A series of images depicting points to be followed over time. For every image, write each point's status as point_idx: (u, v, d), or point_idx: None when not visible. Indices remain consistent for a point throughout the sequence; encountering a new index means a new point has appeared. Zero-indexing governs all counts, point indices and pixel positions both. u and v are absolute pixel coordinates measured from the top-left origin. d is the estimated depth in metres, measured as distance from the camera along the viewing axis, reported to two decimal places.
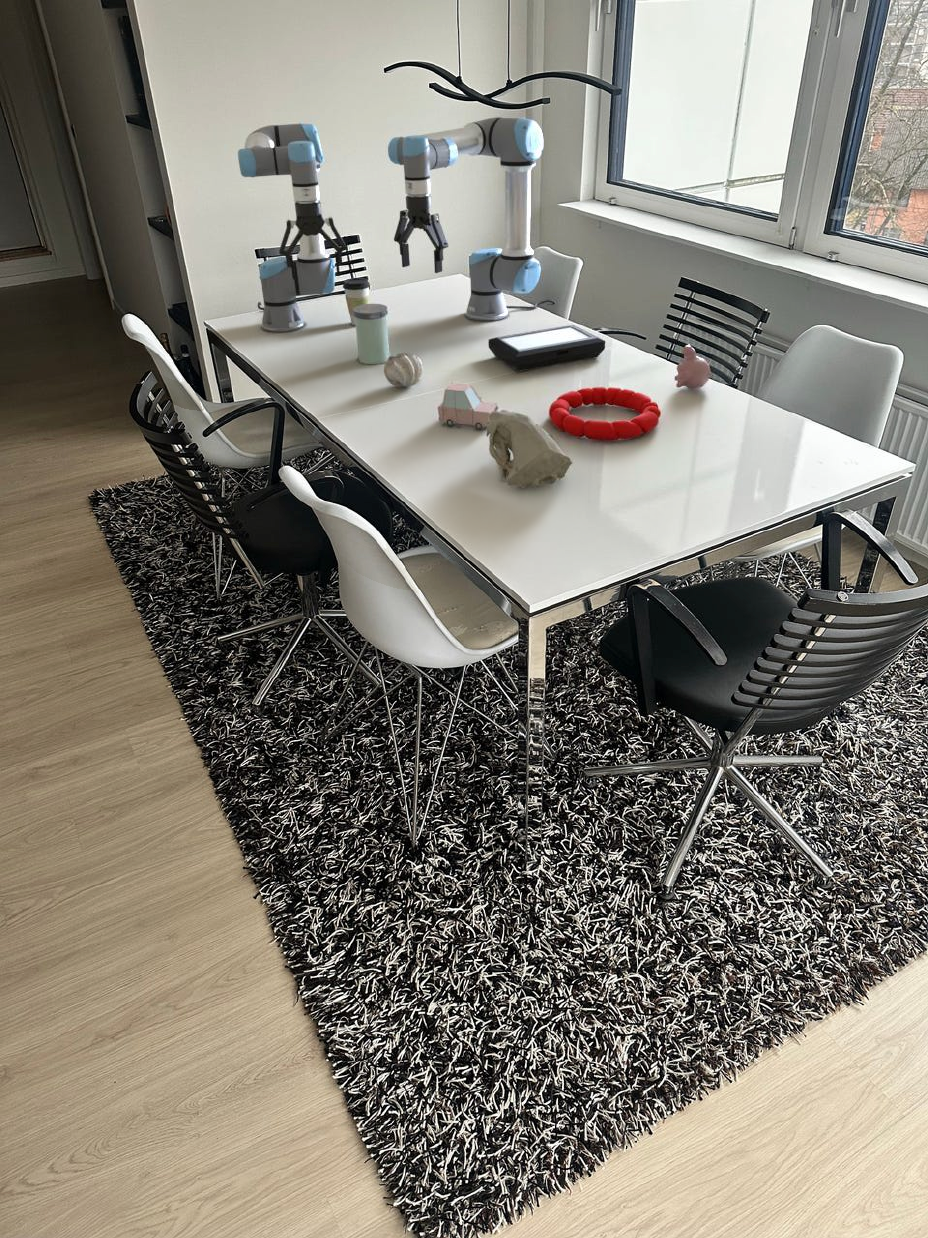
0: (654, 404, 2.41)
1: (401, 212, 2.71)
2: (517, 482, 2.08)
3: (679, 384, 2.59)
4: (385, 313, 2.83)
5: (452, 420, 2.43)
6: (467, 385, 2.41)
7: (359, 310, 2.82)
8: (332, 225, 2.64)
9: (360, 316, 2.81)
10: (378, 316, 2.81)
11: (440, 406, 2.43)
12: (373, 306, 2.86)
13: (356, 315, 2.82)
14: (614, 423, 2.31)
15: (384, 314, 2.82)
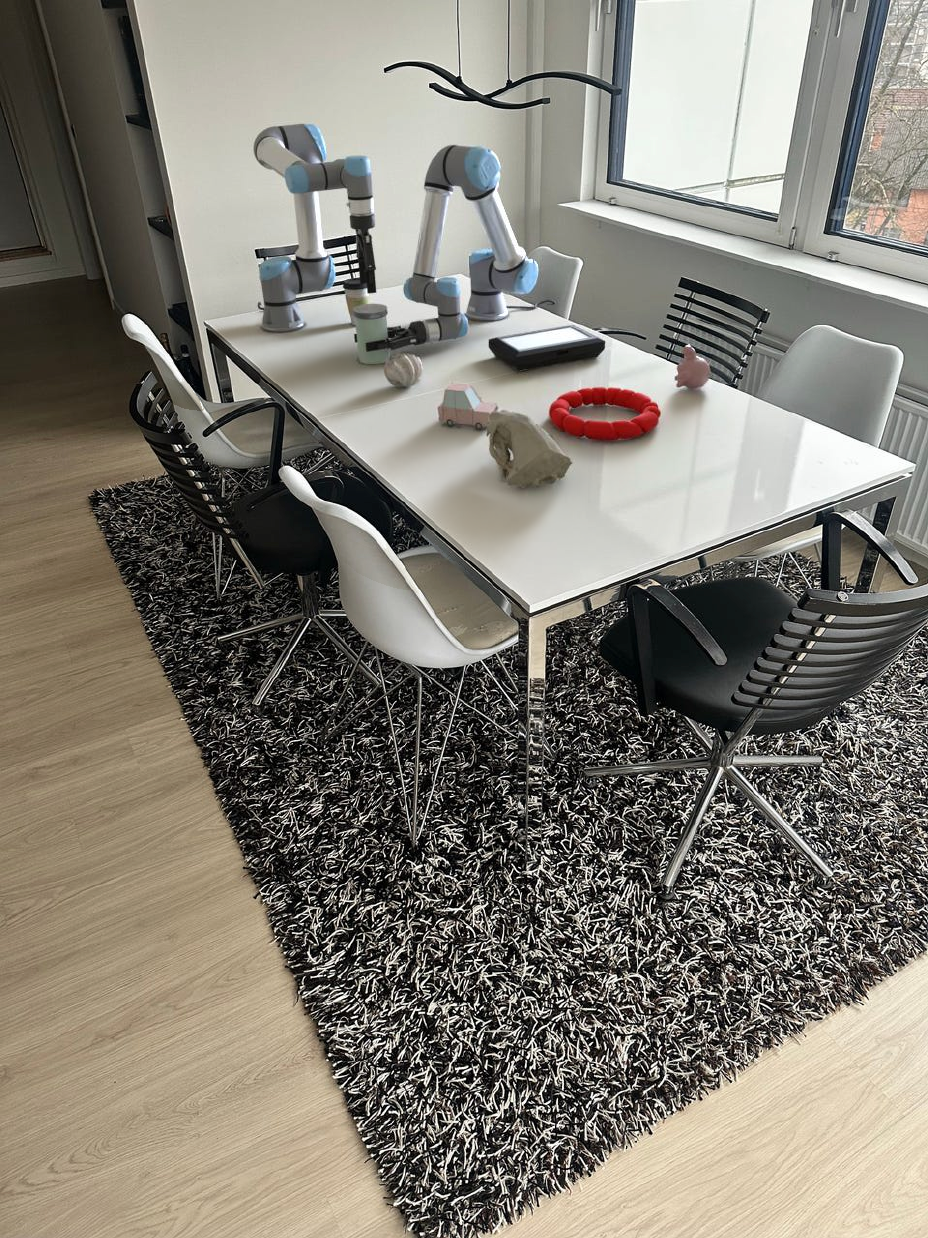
0: (654, 404, 2.41)
1: None
2: (517, 482, 2.08)
3: (679, 384, 2.59)
4: (385, 313, 2.83)
5: (452, 420, 2.43)
6: (467, 385, 2.41)
7: (359, 310, 2.82)
8: (363, 243, 2.67)
9: (360, 316, 2.81)
10: (378, 316, 2.81)
11: (440, 406, 2.43)
12: (373, 306, 2.86)
13: (356, 315, 2.82)
14: (614, 423, 2.31)
15: (384, 314, 2.82)
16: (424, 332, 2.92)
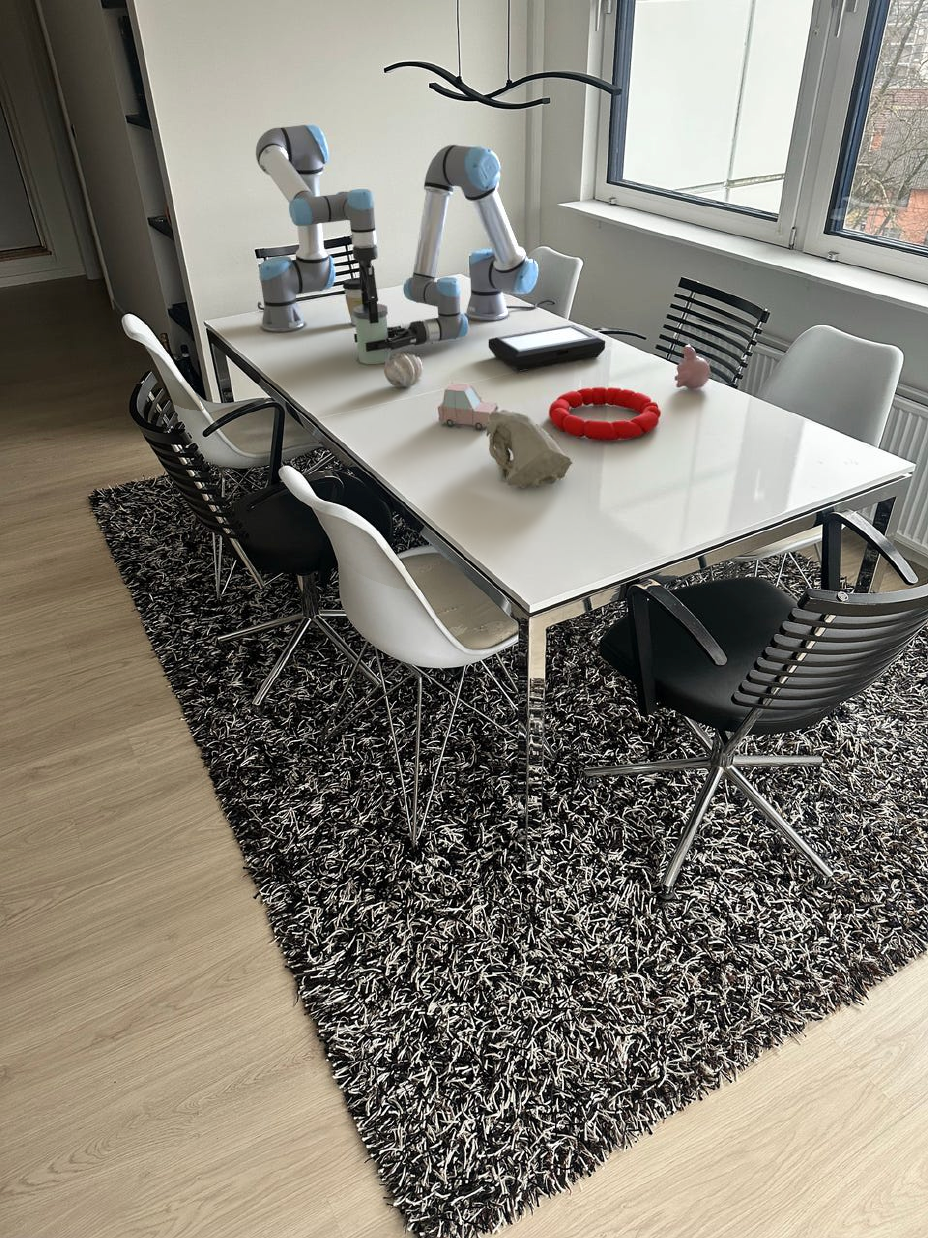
0: (654, 404, 2.41)
1: None
2: (517, 482, 2.08)
3: (679, 384, 2.59)
4: (385, 313, 2.83)
5: (452, 420, 2.43)
6: (467, 385, 2.41)
7: (359, 310, 2.82)
8: (366, 274, 2.72)
9: (360, 316, 2.81)
10: (378, 316, 2.81)
11: (440, 406, 2.43)
12: None
13: (356, 315, 2.82)
14: (614, 423, 2.31)
15: (384, 314, 2.82)
16: (424, 332, 2.92)
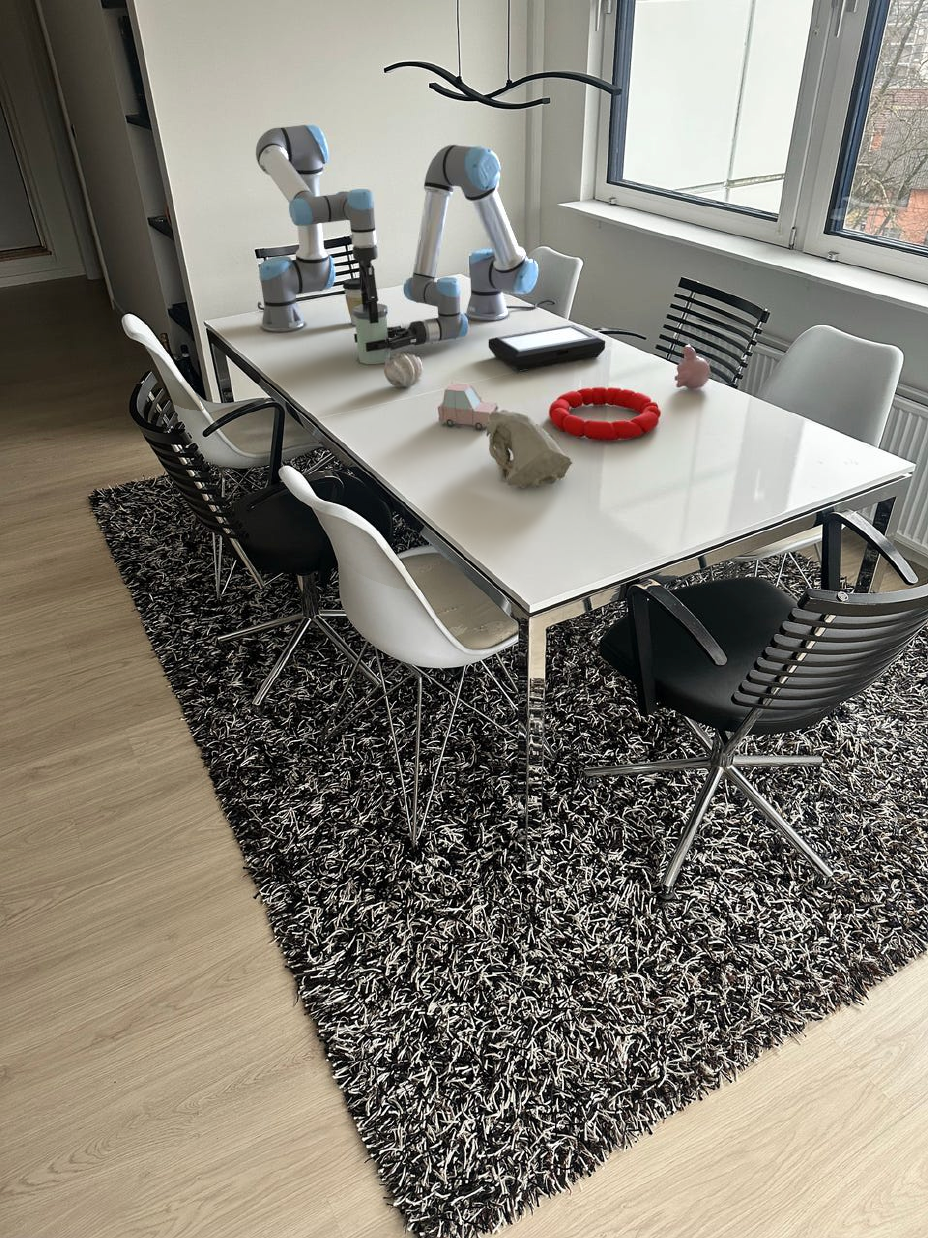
0: (654, 404, 2.41)
1: None
2: (517, 482, 2.08)
3: (679, 384, 2.59)
4: None
5: (452, 420, 2.43)
6: (467, 385, 2.41)
7: None
8: (366, 274, 2.72)
9: (383, 313, 2.82)
10: None
11: (440, 406, 2.43)
12: (364, 307, 2.85)
13: (379, 315, 2.81)
14: (614, 423, 2.31)
15: None
16: (424, 332, 2.92)
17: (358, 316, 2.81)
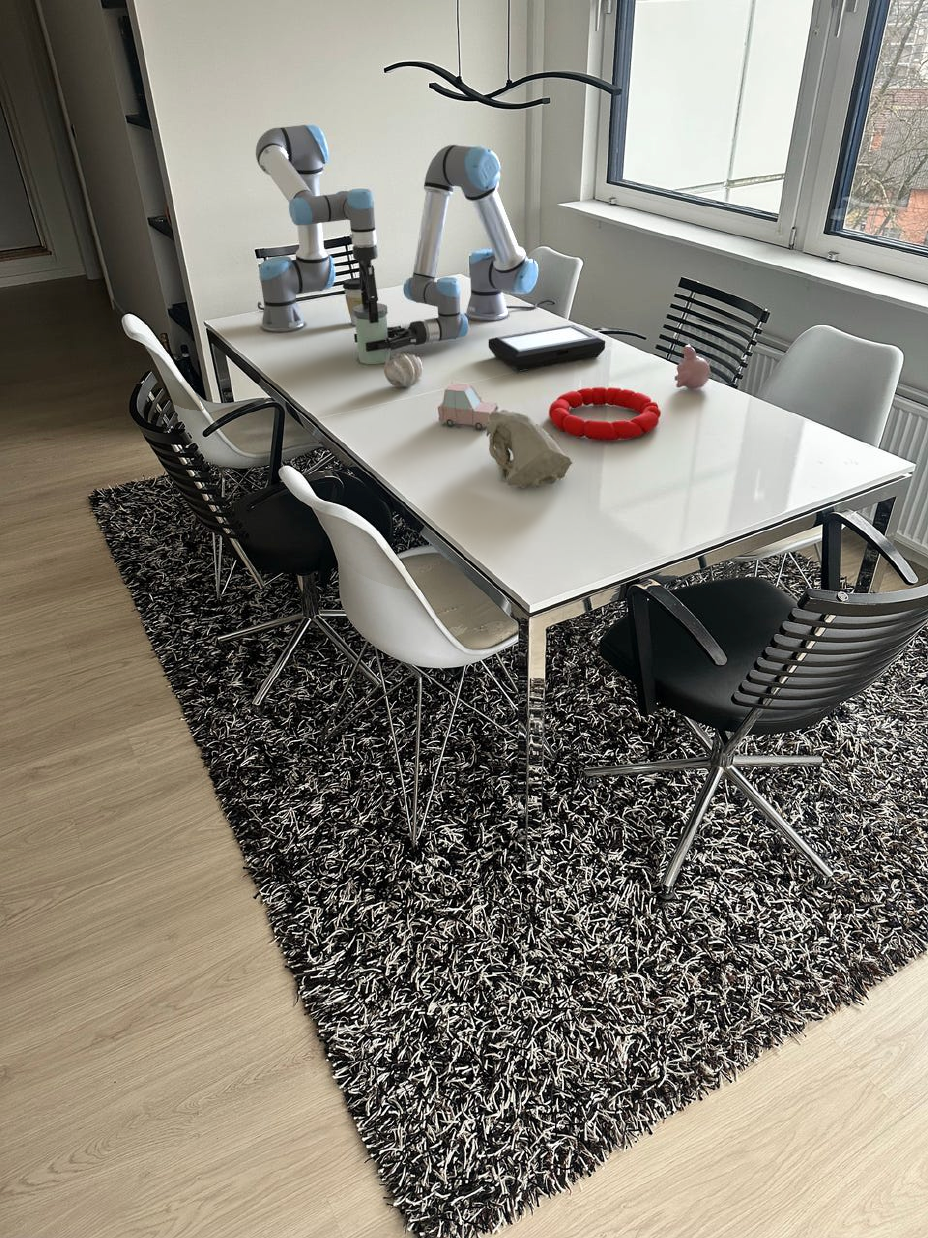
0: (654, 404, 2.41)
1: None
2: (517, 482, 2.08)
3: (679, 384, 2.59)
4: None
5: (452, 420, 2.43)
6: (467, 385, 2.41)
7: (381, 305, 2.85)
8: (366, 274, 2.72)
9: None
10: None
11: (440, 406, 2.43)
12: (365, 309, 2.82)
13: None
14: (614, 423, 2.31)
15: None
16: (424, 332, 2.92)
17: (382, 314, 2.82)
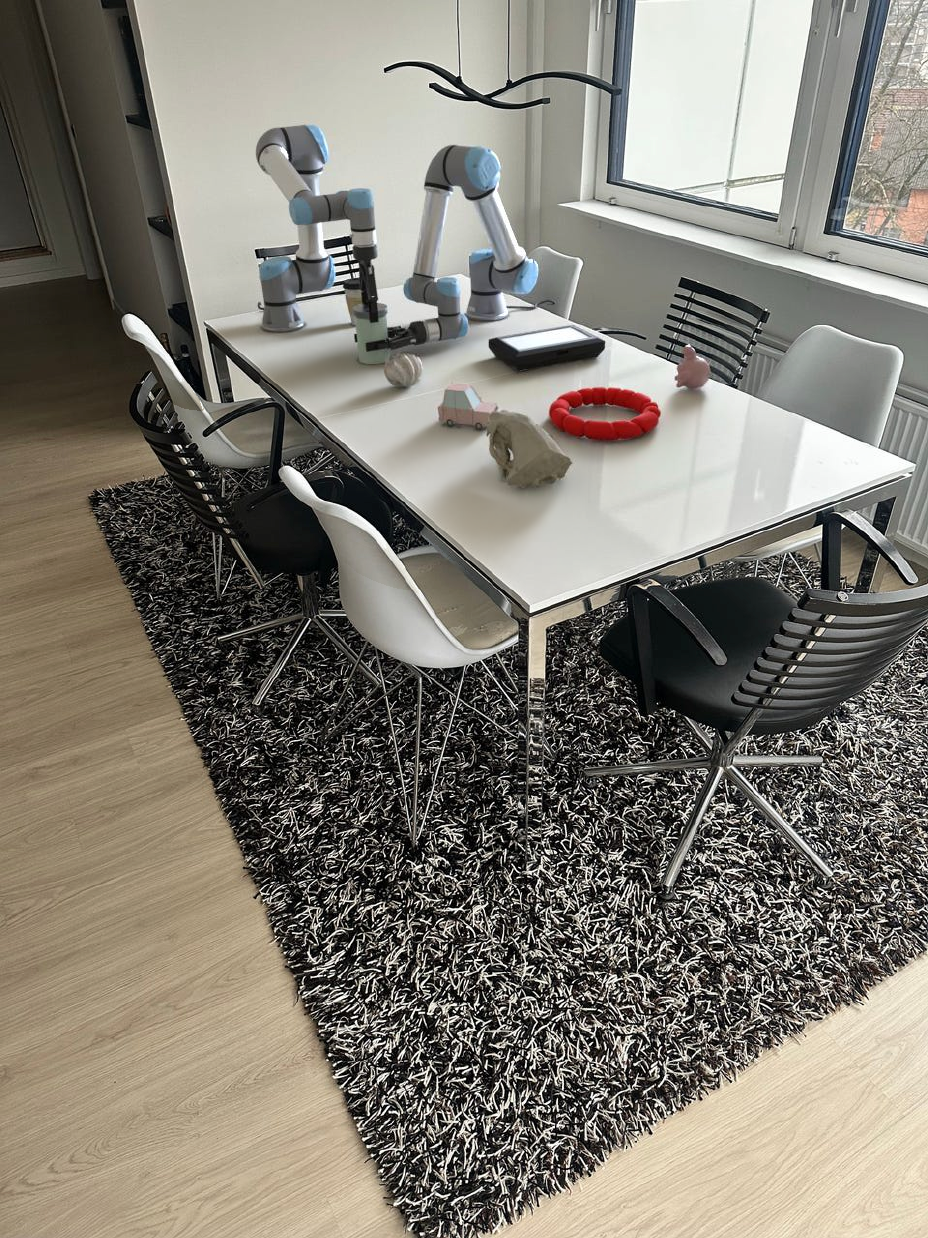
0: (654, 404, 2.41)
1: None
2: (517, 482, 2.08)
3: (679, 384, 2.59)
4: (358, 315, 2.81)
5: (452, 420, 2.43)
6: (467, 385, 2.41)
7: (366, 304, 2.87)
8: (366, 274, 2.72)
9: None
10: (353, 313, 2.83)
11: (440, 406, 2.43)
12: None
13: None
14: (614, 423, 2.31)
15: (357, 315, 2.81)
16: (424, 332, 2.92)
17: None
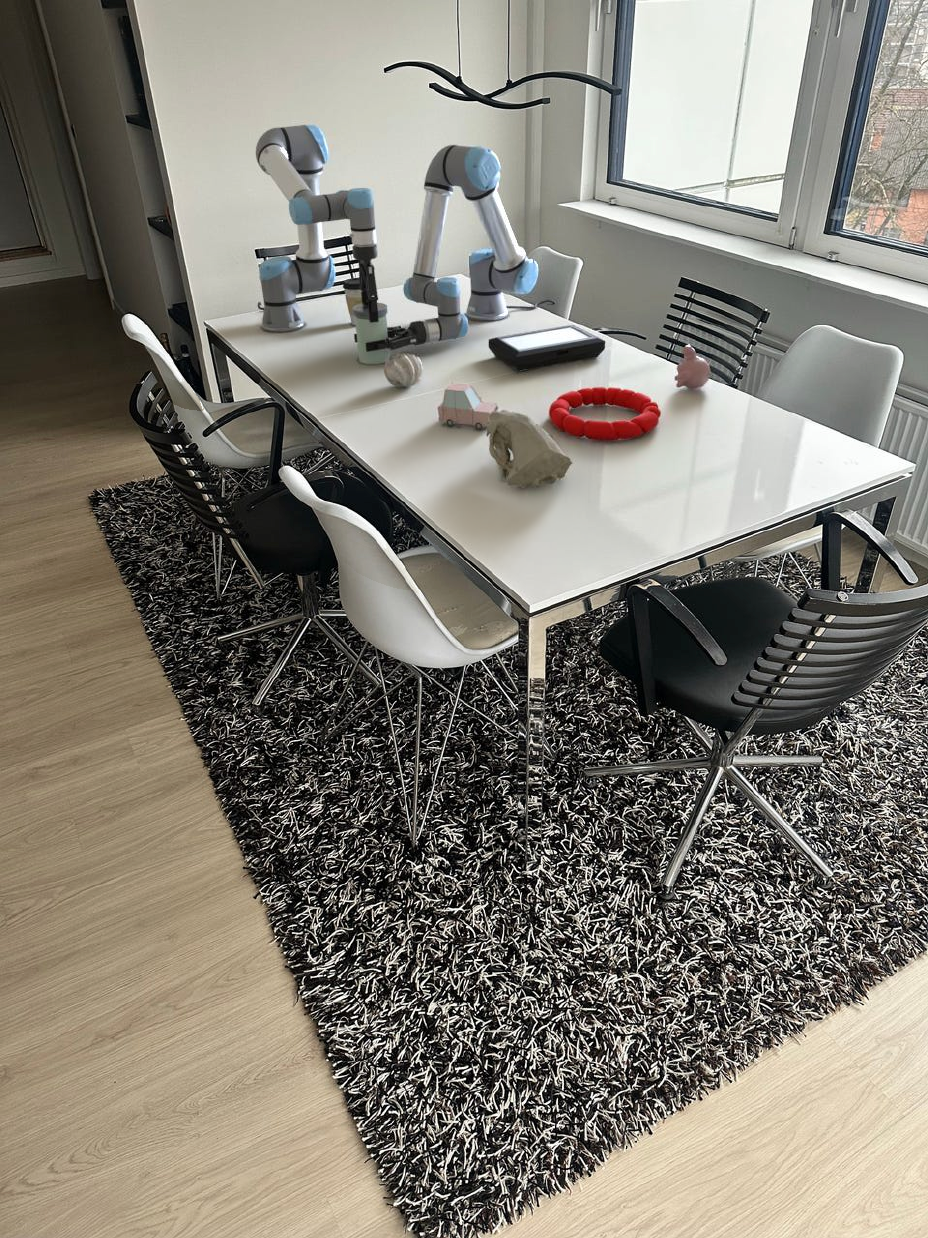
0: (654, 404, 2.41)
1: None
2: (517, 482, 2.08)
3: (679, 384, 2.59)
4: (382, 313, 2.82)
5: (452, 420, 2.43)
6: (467, 385, 2.41)
7: (358, 308, 2.83)
8: (366, 273, 2.72)
9: (356, 314, 2.81)
10: None
11: (440, 406, 2.43)
12: None
13: (353, 313, 2.83)
14: (614, 423, 2.31)
15: (380, 314, 2.81)
16: (424, 332, 2.92)
17: None
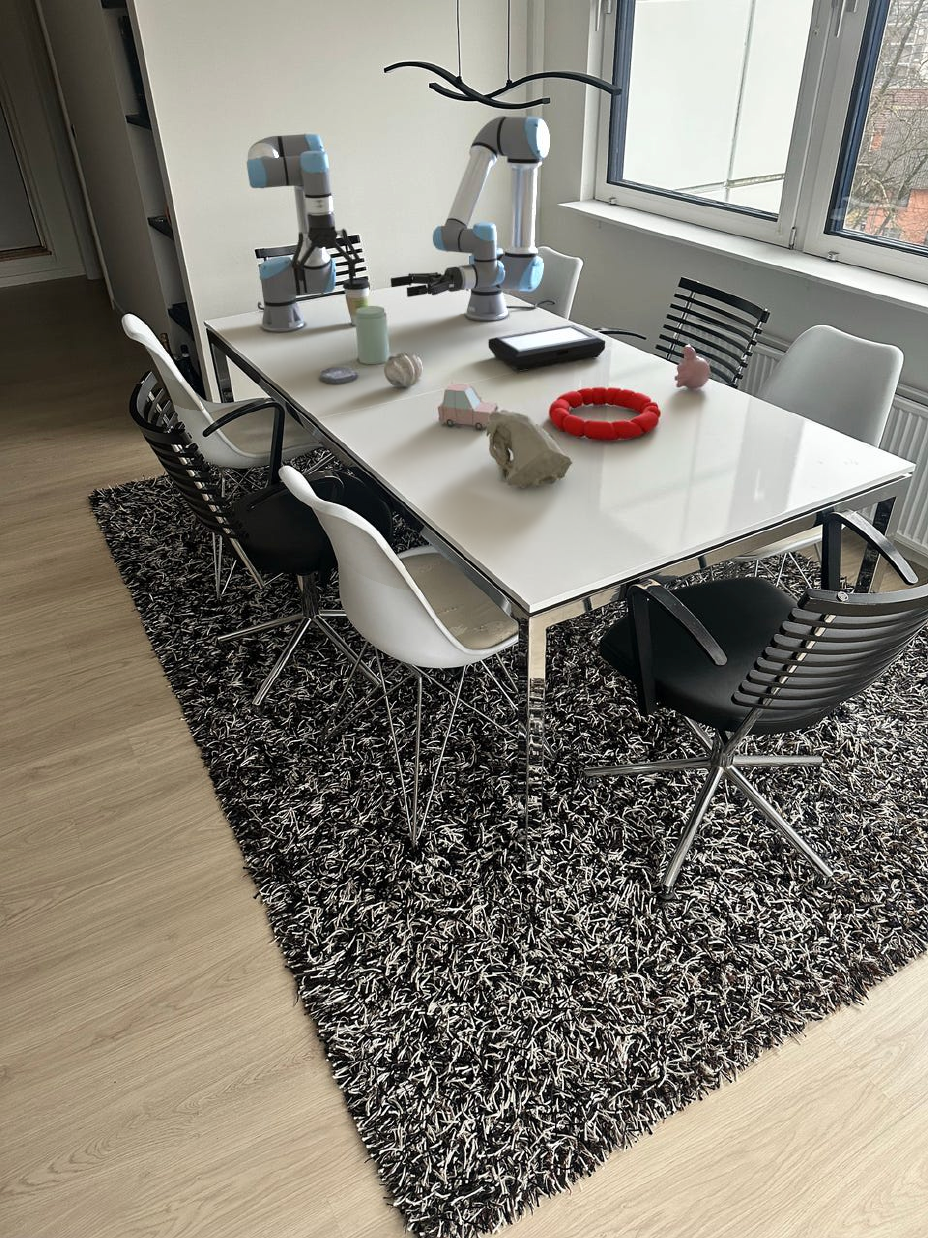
0: (654, 404, 2.41)
1: None
2: (517, 482, 2.08)
3: (679, 384, 2.59)
4: None
5: (452, 420, 2.43)
6: (467, 385, 2.41)
7: (350, 371, 2.79)
8: (346, 237, 2.56)
9: None
10: None
11: (440, 406, 2.43)
12: (331, 373, 2.77)
13: None
14: (614, 423, 2.31)
15: None
16: (460, 278, 2.88)
17: (345, 381, 2.75)
